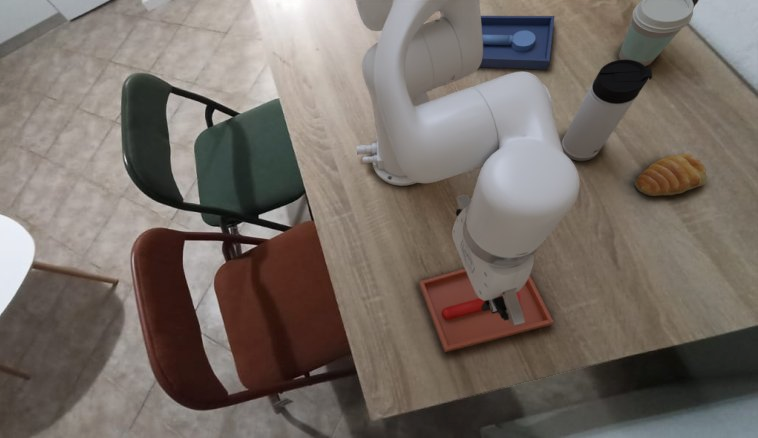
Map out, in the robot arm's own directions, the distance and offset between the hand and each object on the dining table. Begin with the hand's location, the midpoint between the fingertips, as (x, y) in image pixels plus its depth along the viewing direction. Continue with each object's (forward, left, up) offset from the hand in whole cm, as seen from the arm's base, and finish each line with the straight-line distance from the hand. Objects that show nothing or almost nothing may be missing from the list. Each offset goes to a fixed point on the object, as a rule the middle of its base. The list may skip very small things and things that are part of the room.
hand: (478, 273), depth 61 cm
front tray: (+2, 0, -17) cm, 17 cm away
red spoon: (+2, -1, -17) cm, 17 cm away
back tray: (+12, +57, -17) cm, 61 cm away
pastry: (+34, +22, -18) cm, 44 cm away
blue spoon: (+12, +57, -17) cm, 61 cm away
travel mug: (+22, +30, -18) cm, 41 cm away
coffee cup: (+35, +50, -18) cm, 64 cm away
